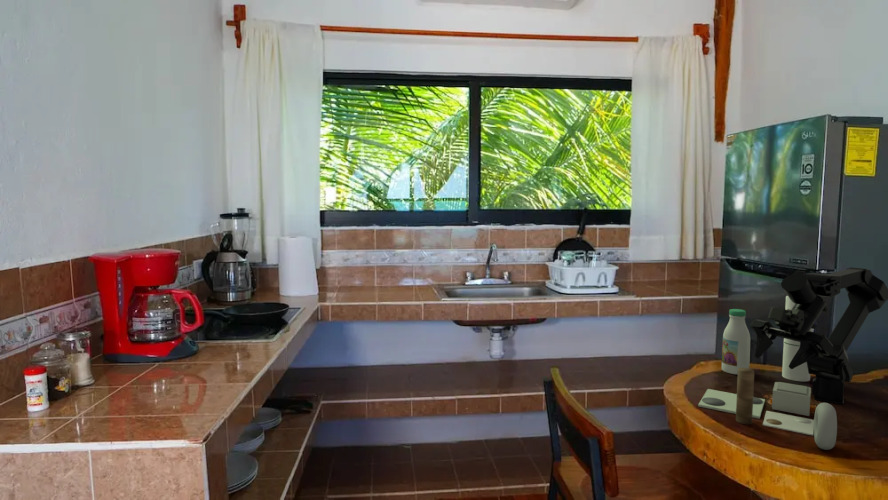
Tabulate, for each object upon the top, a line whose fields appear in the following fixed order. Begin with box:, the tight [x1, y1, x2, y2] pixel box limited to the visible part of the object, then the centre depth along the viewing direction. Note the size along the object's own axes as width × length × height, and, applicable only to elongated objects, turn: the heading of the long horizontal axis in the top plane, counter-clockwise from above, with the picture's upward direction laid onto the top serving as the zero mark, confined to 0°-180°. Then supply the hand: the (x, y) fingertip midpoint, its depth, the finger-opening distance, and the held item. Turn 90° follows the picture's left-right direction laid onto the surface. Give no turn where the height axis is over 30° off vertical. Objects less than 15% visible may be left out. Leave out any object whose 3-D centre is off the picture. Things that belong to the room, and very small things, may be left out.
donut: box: [813, 402, 838, 451], centre depth 114 cm, size 10×4×10 cm, turn 149°
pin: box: [735, 368, 755, 425], centre depth 128 cm, size 4×4×13 cm
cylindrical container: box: [781, 295, 814, 382], centre depth 159 cm, size 7×7×25 cm
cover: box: [771, 381, 812, 417], centre depth 137 cm, size 8×8×5 cm
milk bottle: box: [721, 308, 751, 376], centre depth 165 cm, size 8×8×20 cm
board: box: [697, 388, 766, 420], centre depth 140 cm, size 14×14×1 cm
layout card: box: [762, 410, 814, 437], centre depth 127 cm, size 10×10×1 cm
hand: (772, 362), depth 132 cm, fingers open, 9 cm apart
